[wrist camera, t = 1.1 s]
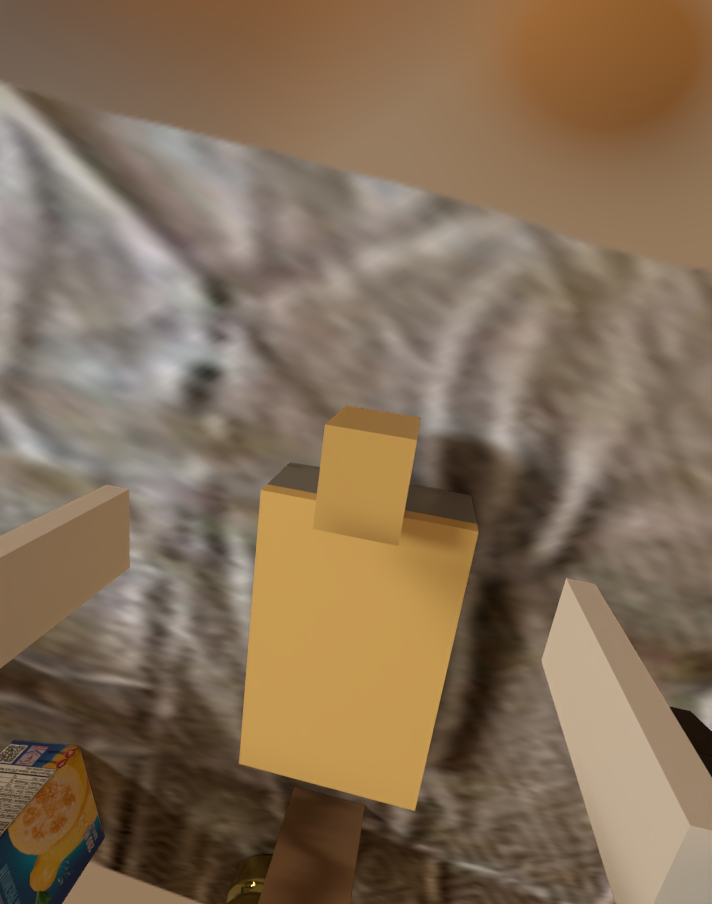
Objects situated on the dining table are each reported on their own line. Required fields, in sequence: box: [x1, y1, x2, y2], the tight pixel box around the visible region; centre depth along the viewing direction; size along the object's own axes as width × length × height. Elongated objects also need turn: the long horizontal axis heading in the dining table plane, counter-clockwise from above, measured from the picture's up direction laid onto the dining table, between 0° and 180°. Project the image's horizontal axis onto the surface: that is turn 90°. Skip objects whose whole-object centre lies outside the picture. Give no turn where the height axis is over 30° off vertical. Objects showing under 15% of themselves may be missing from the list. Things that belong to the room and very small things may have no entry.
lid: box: [239, 405, 479, 811], centre depth 26 cm, size 12×25×5 cm, turn 172°
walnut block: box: [258, 786, 365, 904], centre depth 34 cm, size 6×6×10 cm
